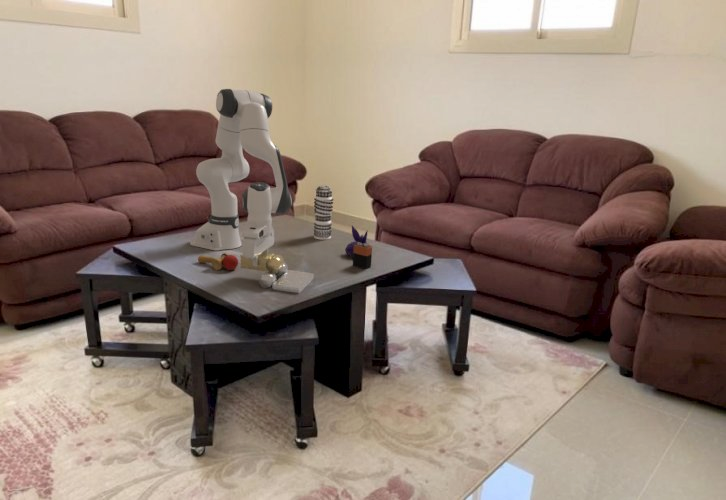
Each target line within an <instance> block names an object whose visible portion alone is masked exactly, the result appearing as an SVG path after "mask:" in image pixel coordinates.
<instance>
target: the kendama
mask: <svg viewBox="0 0 726 500" xmlns="http://www.w3.org/2000/svg"><path fill="white" fill-rule="evenodd" d="M197 260H198V263H199V264H203V263H204V264H211V267H212V268H213V269H214V270H215V271H216V270H217V271H219V270H221V269H223V268H225V270H227V271H233V270H236V269H237V267H238V265H239V259H238V258H237V256H235V255H233V254H229V253H227V252H224V253H222V254H221V256H220V257H219V258H218V257H213V256H205V255H199V256H198V258H197Z"/></svg>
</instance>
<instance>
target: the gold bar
mask: <svg viewBox="0 0 726 500" xmlns="http://www.w3.org/2000/svg"><path fill="white" fill-rule="evenodd" d="M257 260H258V261H259V265H258V266H257V267H255V266H253V262H252V260H251V259H248V258H245V257H244V255H243V253H241V255H240V269H246V270H253V271H259V272H261V271H262V272H265V273H266V272H268V271H270V272H276V271H277V270H278V269H279V268H281V267H282V266H283V265H284V262H285V259H284V256H282V255H280V254H274V253H269V252H268V253H261V254H259V255H258V258H257Z"/></svg>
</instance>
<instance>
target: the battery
mask: <svg viewBox="0 0 726 500" xmlns="http://www.w3.org/2000/svg"><path fill="white" fill-rule="evenodd" d="M372 254H373V245H370V243H367V244H366V243H365V244H361V242H358V244H356V245H354V250H353V256H352V266H354V267H358V268H361V269H364V270H366V269H368V268H371V266H372Z"/></svg>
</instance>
